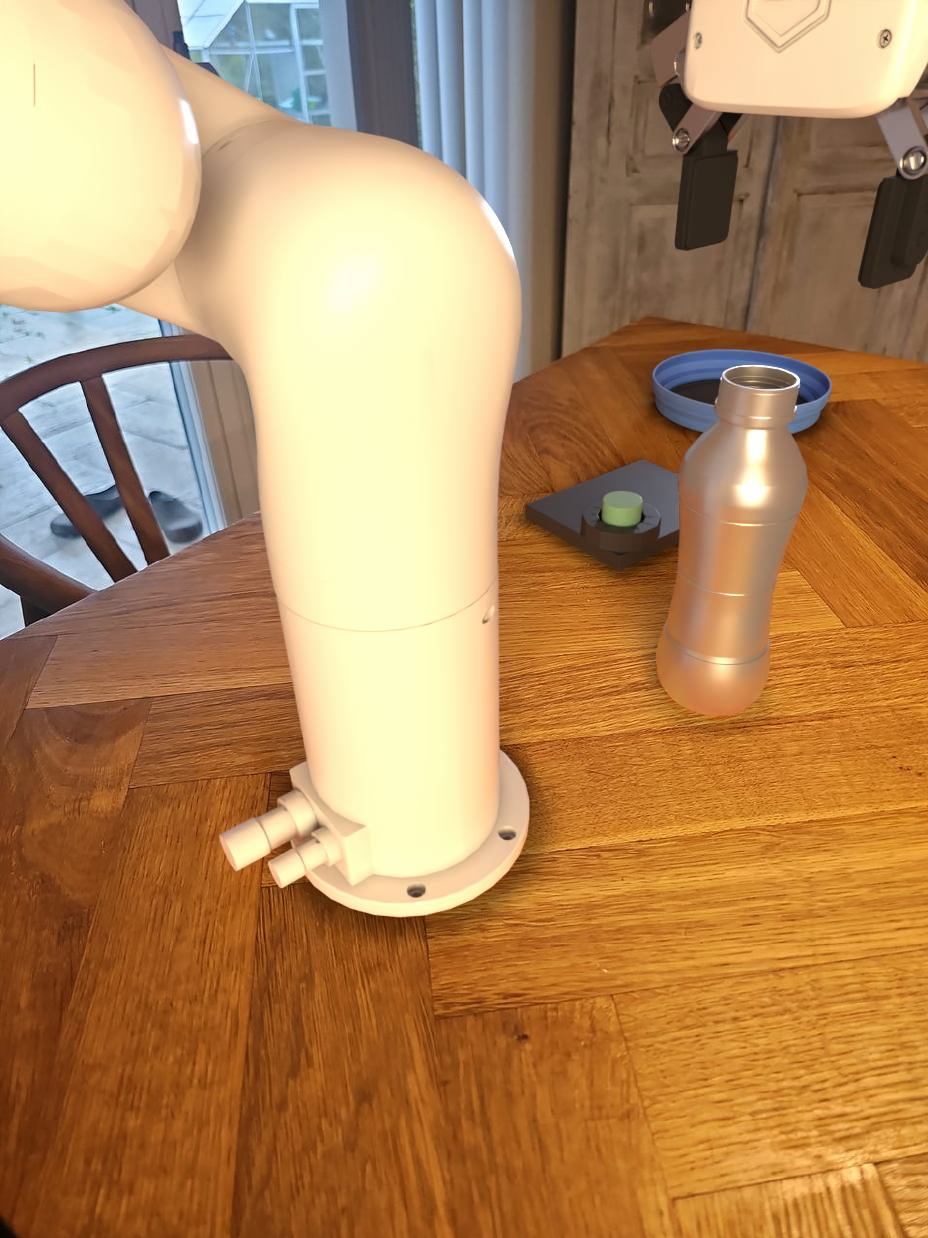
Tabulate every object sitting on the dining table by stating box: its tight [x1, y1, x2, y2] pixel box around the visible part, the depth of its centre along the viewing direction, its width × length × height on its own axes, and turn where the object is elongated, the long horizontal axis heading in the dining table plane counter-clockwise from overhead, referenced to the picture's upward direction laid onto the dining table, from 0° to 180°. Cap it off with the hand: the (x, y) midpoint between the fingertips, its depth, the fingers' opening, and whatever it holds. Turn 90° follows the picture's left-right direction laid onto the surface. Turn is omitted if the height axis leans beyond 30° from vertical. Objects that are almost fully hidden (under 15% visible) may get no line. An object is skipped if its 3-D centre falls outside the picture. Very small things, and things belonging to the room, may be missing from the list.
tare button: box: [602, 491, 643, 527], centre depth 65 cm, size 3×3×2 cm
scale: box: [525, 458, 680, 572], centre depth 70 cm, size 14×11×3 cm
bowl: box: [651, 348, 833, 435], centre depth 89 cm, size 18×18×4 cm
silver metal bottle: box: [655, 365, 809, 717], centre depth 47 cm, size 6×7×20 cm
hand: (785, 262), depth 38 cm, fingers open, 9 cm apart
